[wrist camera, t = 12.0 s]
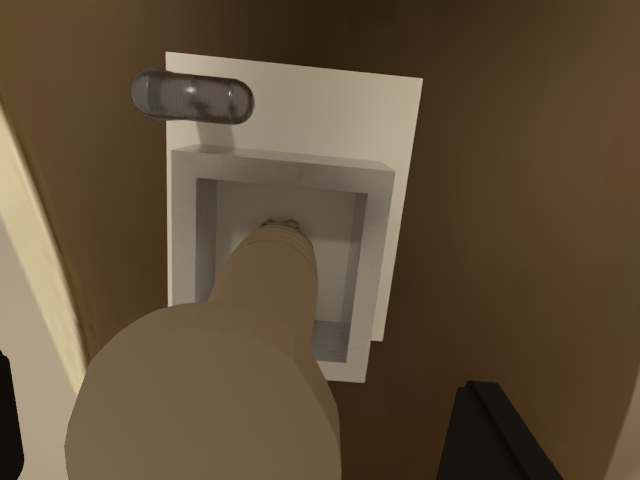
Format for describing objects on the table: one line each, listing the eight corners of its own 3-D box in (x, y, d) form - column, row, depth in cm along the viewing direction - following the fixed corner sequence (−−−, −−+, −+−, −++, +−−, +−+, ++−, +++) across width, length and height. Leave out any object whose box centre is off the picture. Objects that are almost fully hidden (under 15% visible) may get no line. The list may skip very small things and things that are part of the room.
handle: (327, 184, 21) (341, 328, 7) (328, 301, 23) (340, 617, 8) (231, 185, 21) (35, 331, 7) (240, 302, 23) (100, 618, 8)
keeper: (172, 54, 20) (73, 11, 12) (418, 80, 21) (490, 56, 12) (173, 316, 24) (100, 423, 16) (379, 332, 25) (414, 443, 16)
